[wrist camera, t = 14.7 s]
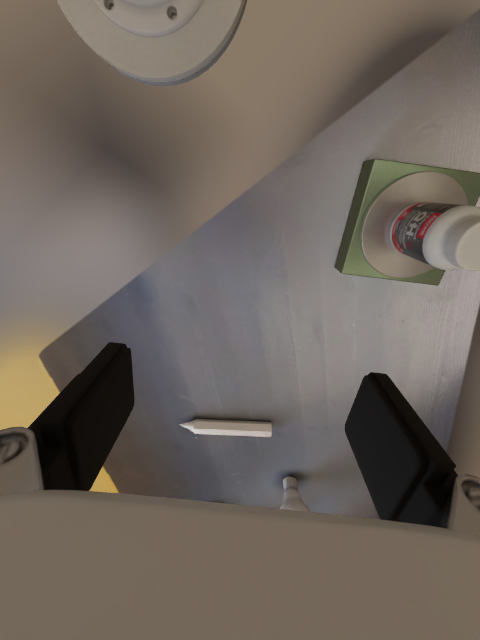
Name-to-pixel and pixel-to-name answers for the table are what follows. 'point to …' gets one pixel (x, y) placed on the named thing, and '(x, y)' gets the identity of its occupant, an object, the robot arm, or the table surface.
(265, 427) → the white pencil
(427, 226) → the pill bottle
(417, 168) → the scale
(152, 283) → the table surface
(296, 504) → the lightbulb
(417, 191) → the pan
